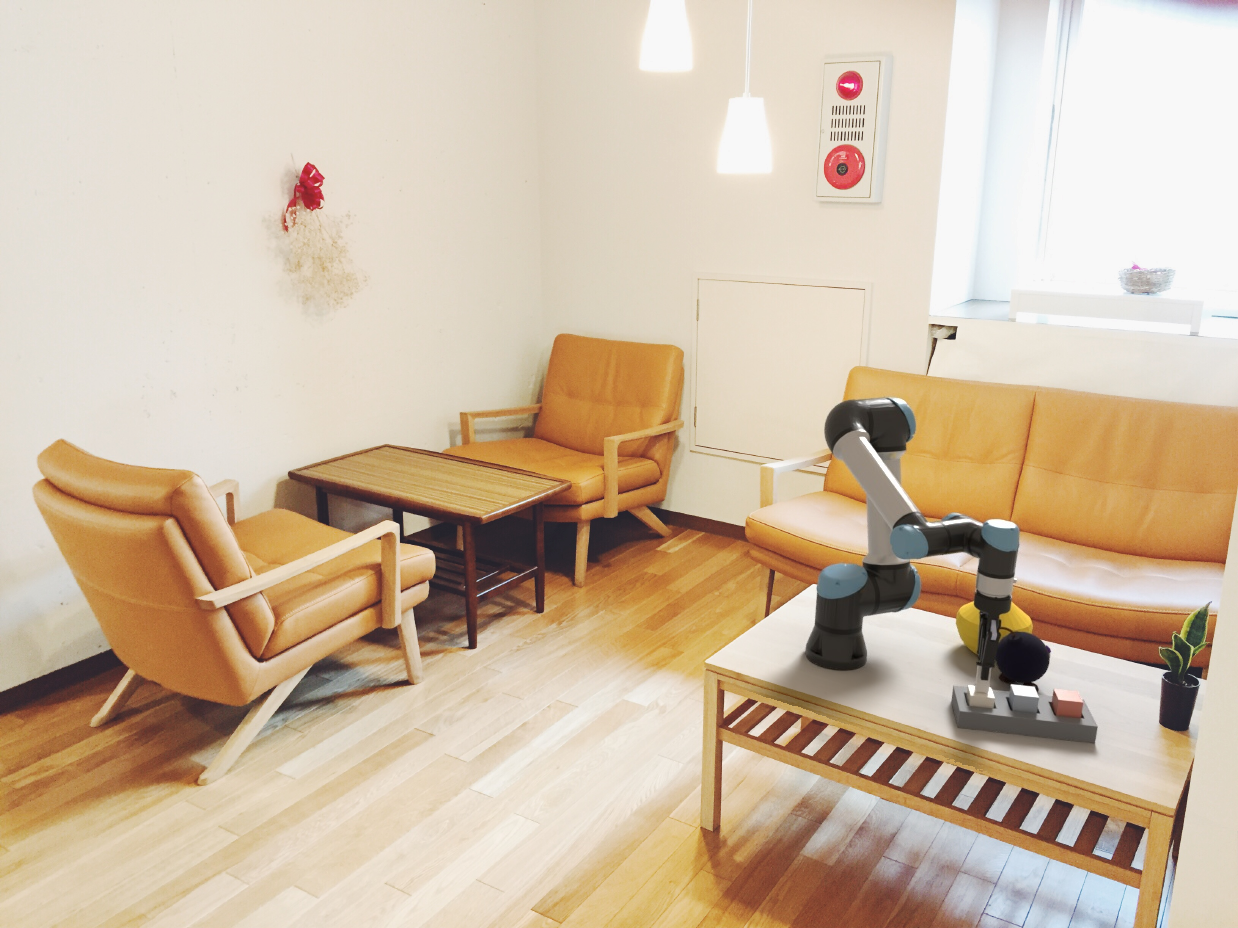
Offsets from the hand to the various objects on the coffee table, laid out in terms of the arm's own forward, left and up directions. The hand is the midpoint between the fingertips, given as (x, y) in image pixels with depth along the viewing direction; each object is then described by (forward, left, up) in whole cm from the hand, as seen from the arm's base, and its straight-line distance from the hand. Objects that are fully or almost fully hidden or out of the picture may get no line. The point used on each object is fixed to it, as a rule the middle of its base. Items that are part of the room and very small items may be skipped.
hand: (981, 690), depth 217 cm
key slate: (+9, 0, -3) cm, 9 cm away
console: (+9, 0, -7) cm, 11 cm away
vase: (+8, +36, -7) cm, 38 cm away
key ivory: (0, 0, -4) cm, 4 cm away
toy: (+11, +18, -7) cm, 22 cm away
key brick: (+18, 0, -3) cm, 18 cm away
